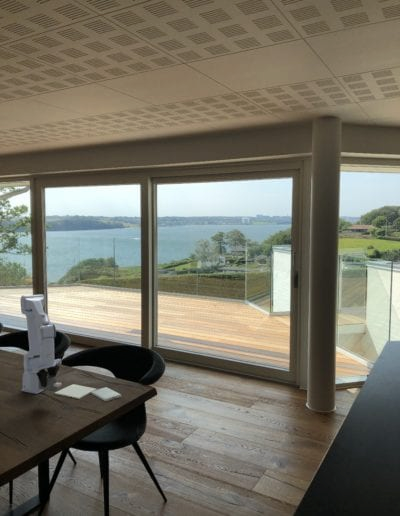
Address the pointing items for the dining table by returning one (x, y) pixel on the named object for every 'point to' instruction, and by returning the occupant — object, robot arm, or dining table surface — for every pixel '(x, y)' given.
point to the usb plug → (50, 383)
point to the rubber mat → (75, 391)
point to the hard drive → (105, 394)
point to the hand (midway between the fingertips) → (47, 384)
